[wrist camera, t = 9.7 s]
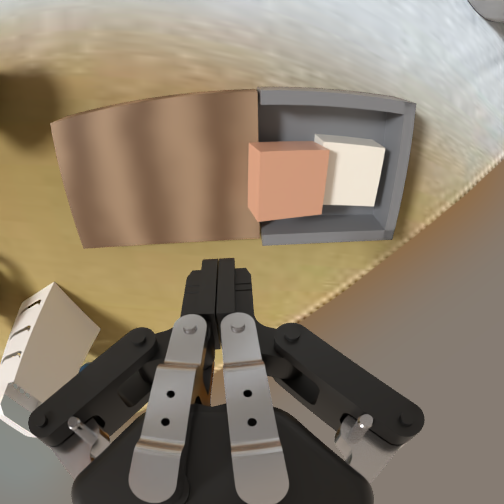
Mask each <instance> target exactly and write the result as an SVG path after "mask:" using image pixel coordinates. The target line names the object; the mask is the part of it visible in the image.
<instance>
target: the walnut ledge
mask: <svg viewBox="0 0 504 504" xmlns="http://www.w3.org/2000/svg"><path fill="white" fill-rule="evenodd" d="M50 125H51V131H52V136H53V141H54V146H55V151H56V155H57V160H58V164H59V168H60V172H61V176H62V180H63V184H64V188H65V191H66V195H67V198H68V202H69V205H70V209H71V212H72V215H73V218H74V221H75V225H76V228H77V231H78V234H79V237H80V240H81V242H82V245H83V248H84V249H85V248H100V247H115V246H131V245H147V244H164V243H181V242H199V241H217V240H237V239H257V238H260V225H259V222H257V220H256V219H255V217H254V216H253V214H252V213H251V211H250V210H249V208H248V154H249V143H252V142H258V92H257V91H256V90H255V89H243V90H223V91H208V92H197V93H187V94H178V95H170V96H162V97H155V98H149V99H142V100H137V101H131V102H125V103H120V104H115V105H110V106H106V107H101V108H97V109H93V110H88V111H84V112H80V113H76V114H73V115H69V116H65V117H63V118H61V119H58V120H56V121H54V122H52V123H50Z"/></svg>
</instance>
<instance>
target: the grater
mask: <svg viewBox="0 0 504 504" xmlns="http://www.w3.org/2000/svg"><path fill="white" fill-rule="evenodd" d="M38 300H41V302H40V305H39V304H38V303H37V304H36V305H34V306H32V307H31V308H29V309H28V308H27V307H28V306H30V305H31V304H33V303H34V302H36V301H38ZM28 325H29V326H30V328H28V327H27V326H28ZM28 330H29V331H28ZM100 330H101V329H100V328H99V327H98V326H97V325H96V324H95V323H94V322H93V321H92V320H91V319H90V318H89V317H88V316H87V315H86V314H85V313H84V312H83V311H82V310H81V309H80V308H79V307H78V306H77V305H76V304H75V303H74V302H73V301H72V300H71V299H70V298H69V297H68V296H67V295H66V294H65V293H64V292H63V290H62V289H61V288H60V287H59V286H58V285H57V284H56V283H55V282H53V283H51V284H50V285H48V286H47V287H45V288H43V289H42V290H40V291H39V292H37V293H36V294H34V295H33V296H31V297H29V298H28V299H26V300H25V301H23V302H22V304H21V306H20V309H19V311H18V314H17V317H16V319H15V322H14V325H13V327H12V330H11V333H10V336H9V339H8V342H7V345H6V348H5V351H4V354H3V357H2V361H1V364H0V403H1V401H2V398H3V395H4V393H5V394H6V395H7V396H9V397H10V398H11V399H13V400H14V401H15V402H17V403H18V404H19V405H21V406H22V407H24V408H25V409H27V410H28V411H30V412H31V413H32V412H33V411H34V410H35V409H36V408H37V407H38V406H40V405H41V404H42V403H43V402H44V401H46V400H47V399H48V398H49V397H50V396H52V395H53V394H54V393H55V392H56V391H58V390H59V389H60V388H61V387H62V386H64V385H65V384H66V383H67V382H69V381H70V380H71V379H72V378H73V377H75V376H76V375H77V373H78V371H79V369H80V367H81V365H82V363H83V361H84V359H85V357H86V356H87V354H88V352H89V350H90V348H91V346H92V344H93V342H94V341H95V339H96V337H97V335H98V333H99V331H100ZM18 353H20V354H21V356H19V355H17V354H18ZM12 356H14V357H12ZM10 382H12V384H11V385H10V384H8V383H10ZM14 383H16V384H17V385H18V388H17V389H15V388H14V387H13V384H14ZM20 388H22V389H23V390H24V393H23V394H21V393H20V392H19V389H20ZM26 392H28V393H29V395H30V397H29V398H27V397H26V396H25V393H26ZM0 419H1V420H3V421H4V422H6V423H7V424H8V425H10V426H12V427H13V428H15V429H16V430H18V431H19V432H21V433H22V434H24V435H26V436H29V437H36V436H34V435H33V434H32V433H30V432H28V431H27V430H25V429H24V428H22V427H21V426H19V425H17V424H16V423H14V422H13V421H11V420H10V419H8V418H7V417H6V416H4V415H3V411H2V408H1V405H0ZM36 438H37V437H36Z"/></svg>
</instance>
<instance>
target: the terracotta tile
mask: <svg viewBox="0 0 504 504" xmlns="http://www.w3.org/2000/svg"><path fill="white" fill-rule="evenodd" d="M329 152H330V150H329V149H327V148H325V147H323V146H321V145H319V144H318V143H316V142H314V141H277V142H252V143H249V154H248V208H249V210H250V211H251V213H252V214H253V216H254V217H255V219H256V220H257V222H262V221H270V220H278V219H286V218H294V217H303V216H311V215H320V214H322V207H323V200H324V193H325V185H326V177H327V169H328V161H329Z"/></svg>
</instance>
